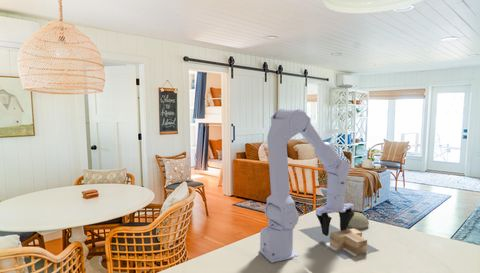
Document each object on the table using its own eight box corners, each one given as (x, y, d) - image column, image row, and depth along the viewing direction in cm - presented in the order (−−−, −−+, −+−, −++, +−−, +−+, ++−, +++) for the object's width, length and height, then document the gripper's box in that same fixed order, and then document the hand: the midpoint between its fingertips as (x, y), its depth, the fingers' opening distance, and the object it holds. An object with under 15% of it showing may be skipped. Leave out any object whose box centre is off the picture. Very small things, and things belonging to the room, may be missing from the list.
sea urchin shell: (337, 221, 113) (344, 203, 117) (343, 231, 118) (350, 214, 121) (361, 228, 107) (368, 209, 110) (367, 239, 111) (373, 220, 115)
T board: (344, 260, 88) (344, 259, 87) (298, 231, 109) (298, 229, 108) (379, 252, 93) (379, 250, 93) (329, 225, 114) (329, 224, 114)
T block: (349, 256, 89) (349, 244, 88) (329, 244, 97) (330, 233, 96) (373, 250, 93) (374, 238, 92) (353, 239, 101) (354, 228, 100)
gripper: (326, 199, 94) (324, 241, 95) (361, 194, 99) (359, 234, 101) (312, 193, 100) (311, 232, 101) (346, 189, 106) (344, 226, 107)
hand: (334, 232), depth 101 cm, fingers open, 7 cm apart
